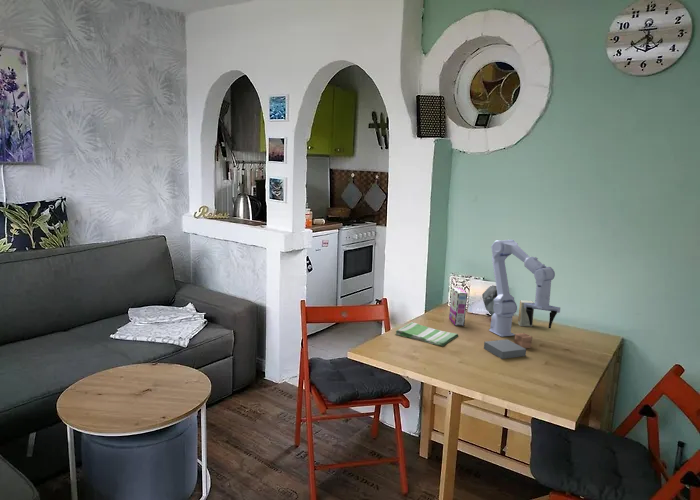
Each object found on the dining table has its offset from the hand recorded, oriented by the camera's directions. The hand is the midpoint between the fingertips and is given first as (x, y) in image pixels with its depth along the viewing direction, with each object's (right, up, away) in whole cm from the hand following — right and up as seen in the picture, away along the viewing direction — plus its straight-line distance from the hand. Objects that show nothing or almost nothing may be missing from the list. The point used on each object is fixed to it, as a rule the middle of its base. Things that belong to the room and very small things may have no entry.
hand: (540, 326), depth 218 cm
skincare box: (+5, -5, +34) cm, 35 cm away
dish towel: (-47, -7, +12) cm, 49 cm away
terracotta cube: (-6, -9, +4) cm, 12 cm away
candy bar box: (-29, -3, +33) cm, 44 cm away
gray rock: (-9, -3, +42) cm, 43 cm away
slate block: (-17, -10, -4) cm, 20 cm away
